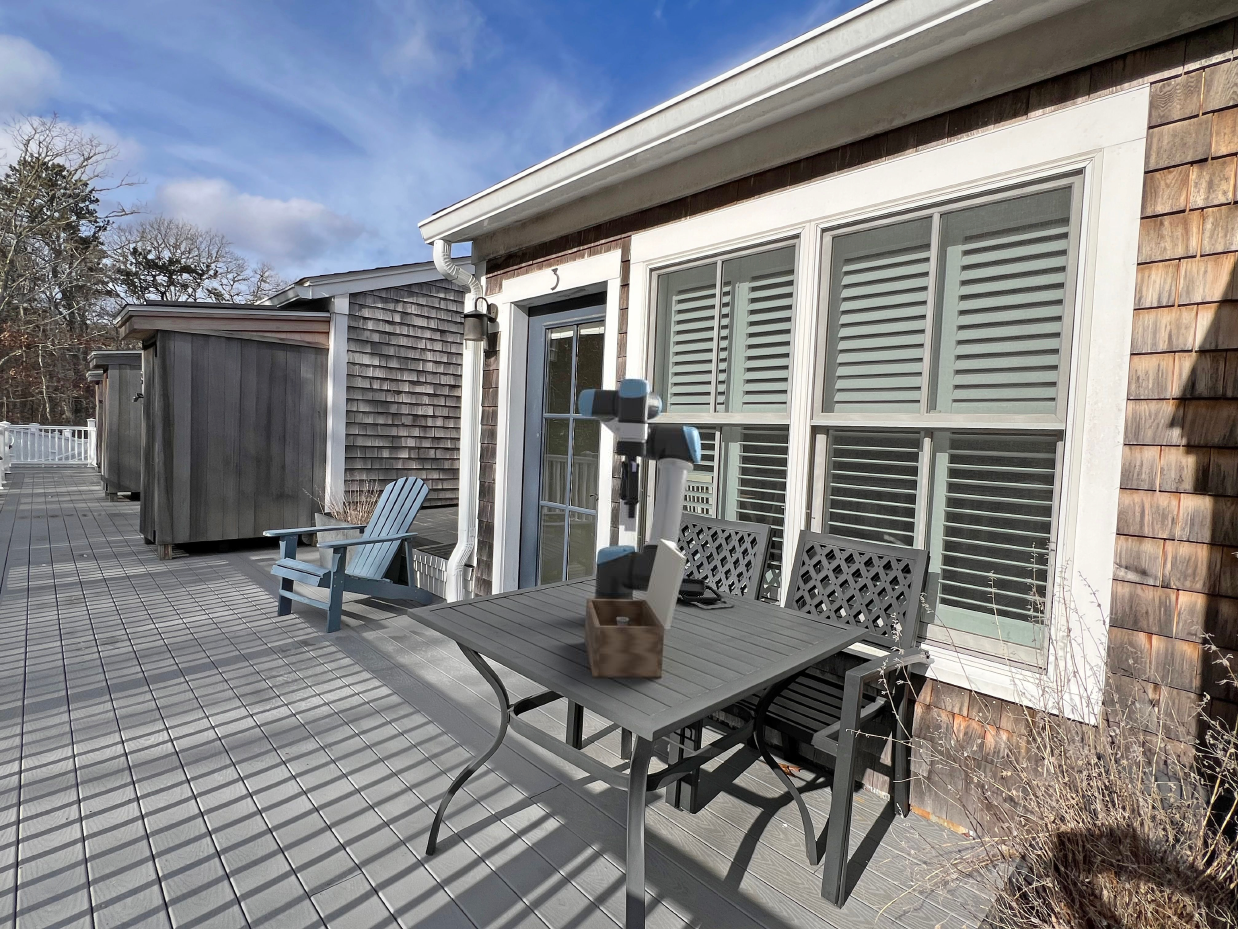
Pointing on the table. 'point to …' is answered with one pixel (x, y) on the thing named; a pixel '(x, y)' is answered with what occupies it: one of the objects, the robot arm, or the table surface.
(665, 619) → the lid
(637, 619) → the bin
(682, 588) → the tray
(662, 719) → the table surface
